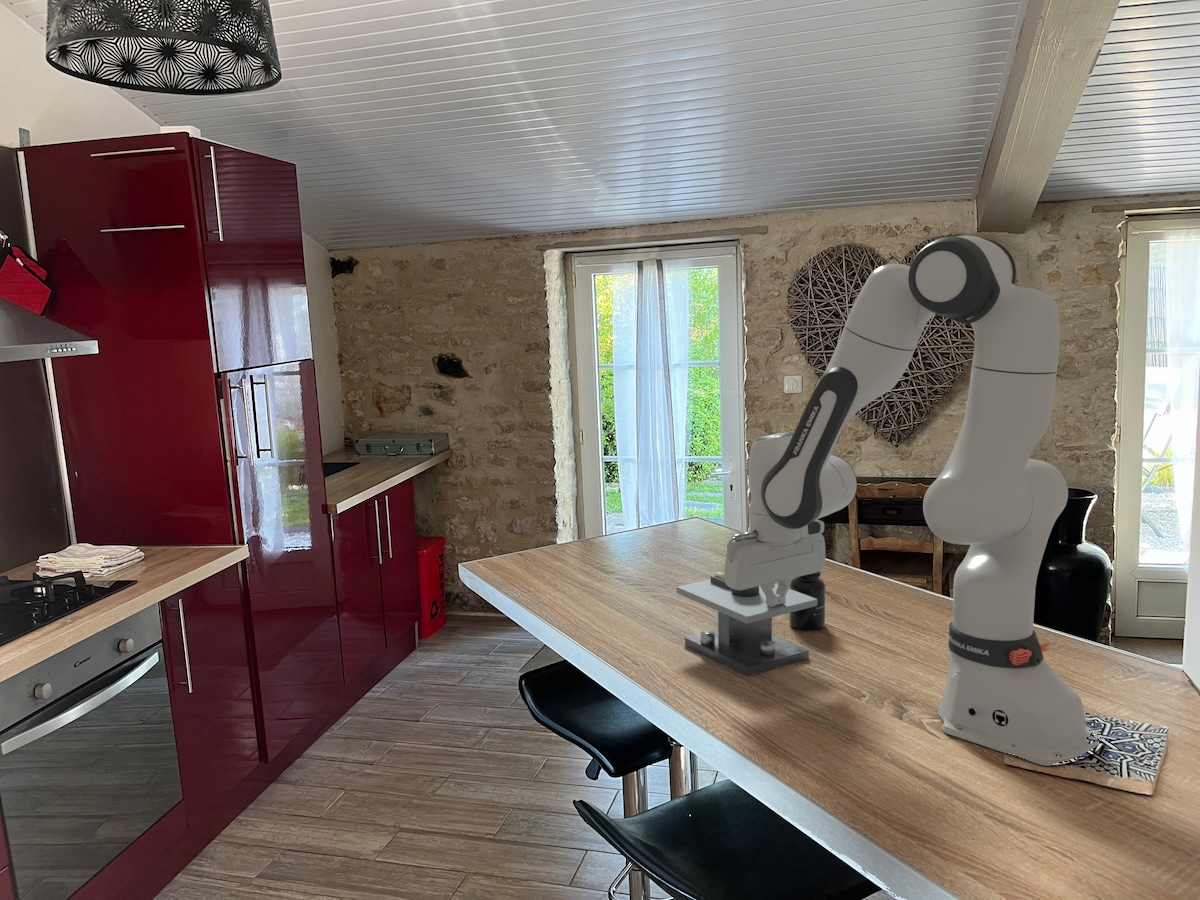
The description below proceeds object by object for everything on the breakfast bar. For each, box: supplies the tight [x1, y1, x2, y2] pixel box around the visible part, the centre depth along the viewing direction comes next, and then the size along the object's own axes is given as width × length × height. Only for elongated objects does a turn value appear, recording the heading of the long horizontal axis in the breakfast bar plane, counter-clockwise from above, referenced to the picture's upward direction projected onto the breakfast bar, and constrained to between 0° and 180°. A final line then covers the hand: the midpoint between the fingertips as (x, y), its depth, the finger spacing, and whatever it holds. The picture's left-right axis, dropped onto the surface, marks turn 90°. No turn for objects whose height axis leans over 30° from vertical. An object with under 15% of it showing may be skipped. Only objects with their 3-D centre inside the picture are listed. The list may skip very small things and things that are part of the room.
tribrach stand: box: [684, 611, 810, 677], centre depth 169 cm, size 18×14×9 cm
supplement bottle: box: [788, 572, 826, 631], centre depth 182 cm, size 7×7×12 cm
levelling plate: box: [676, 571, 817, 623], centre depth 168 cm, size 20×16×6 cm
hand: (775, 605), depth 161 cm, fingers closed, pressing on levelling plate
